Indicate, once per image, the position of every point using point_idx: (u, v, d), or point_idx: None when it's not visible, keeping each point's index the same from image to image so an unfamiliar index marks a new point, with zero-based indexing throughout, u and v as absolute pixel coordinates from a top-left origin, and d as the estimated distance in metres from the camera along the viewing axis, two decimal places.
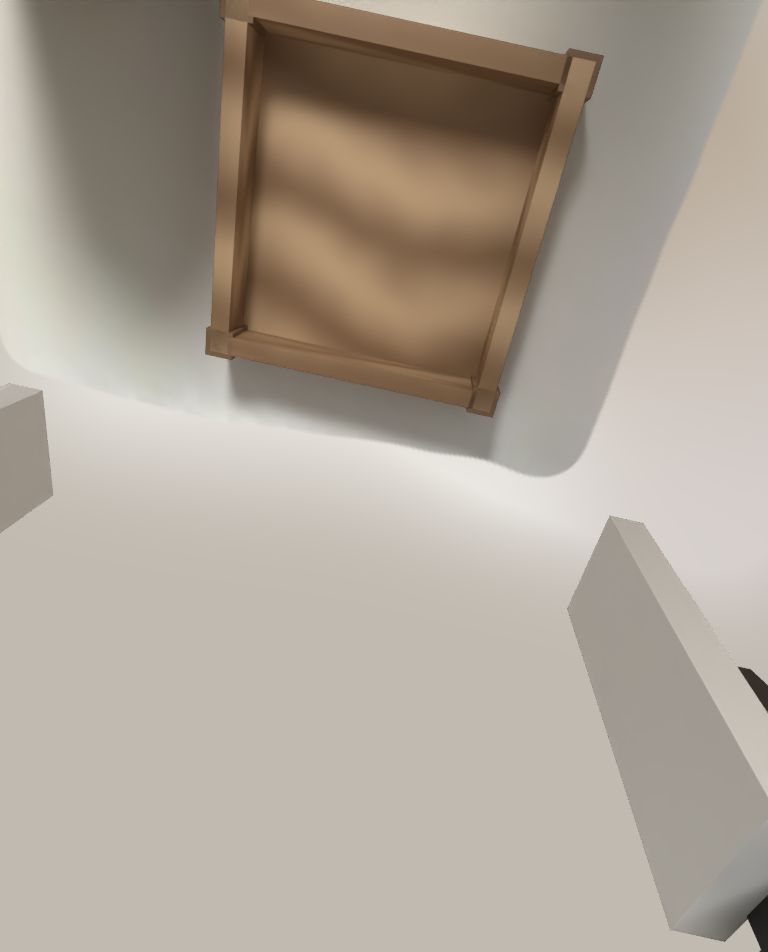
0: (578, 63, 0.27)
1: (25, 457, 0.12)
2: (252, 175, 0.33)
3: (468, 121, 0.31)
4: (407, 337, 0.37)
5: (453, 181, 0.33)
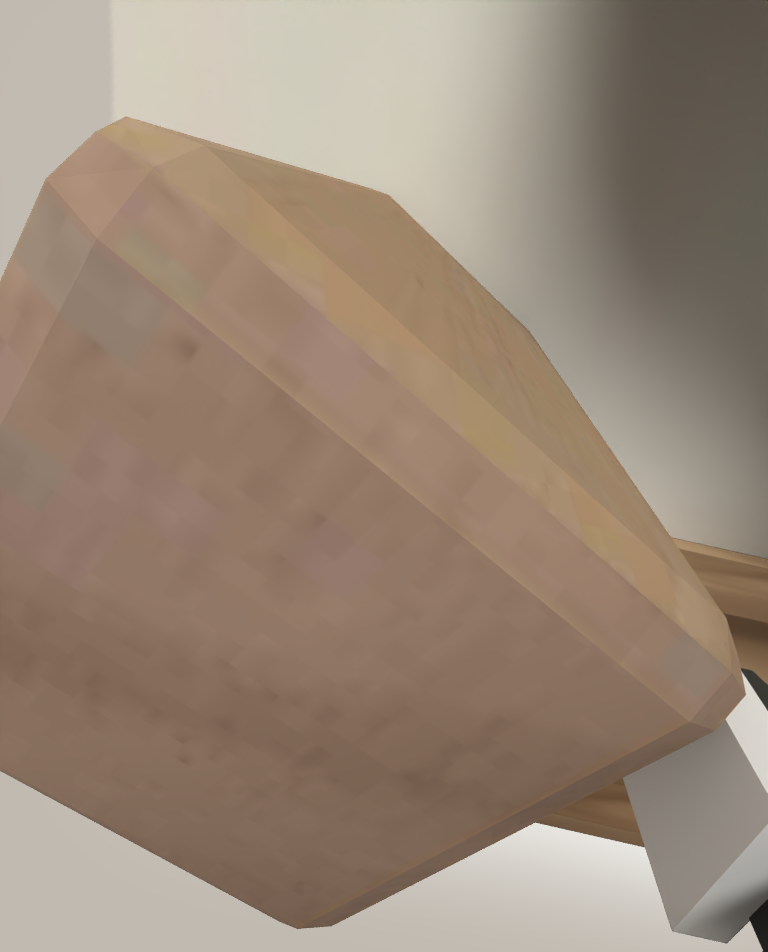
0: None
1: None
2: None
3: (754, 620, 0.28)
4: None
5: None
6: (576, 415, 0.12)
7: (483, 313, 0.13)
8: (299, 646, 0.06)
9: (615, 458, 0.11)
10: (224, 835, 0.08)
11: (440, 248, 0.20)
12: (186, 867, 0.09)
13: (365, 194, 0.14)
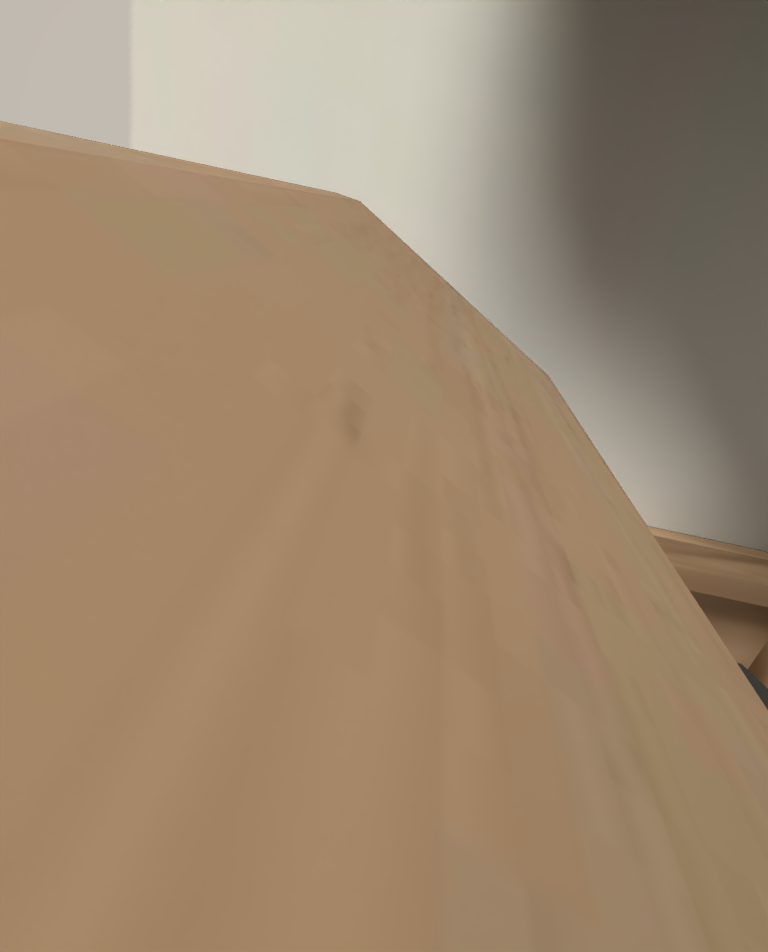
0: None
1: None
2: None
3: (710, 598, 0.31)
4: None
5: None
6: (678, 610, 0.06)
7: (496, 397, 0.08)
8: None
9: None
10: None
11: (429, 272, 0.15)
12: None
13: (297, 200, 0.08)
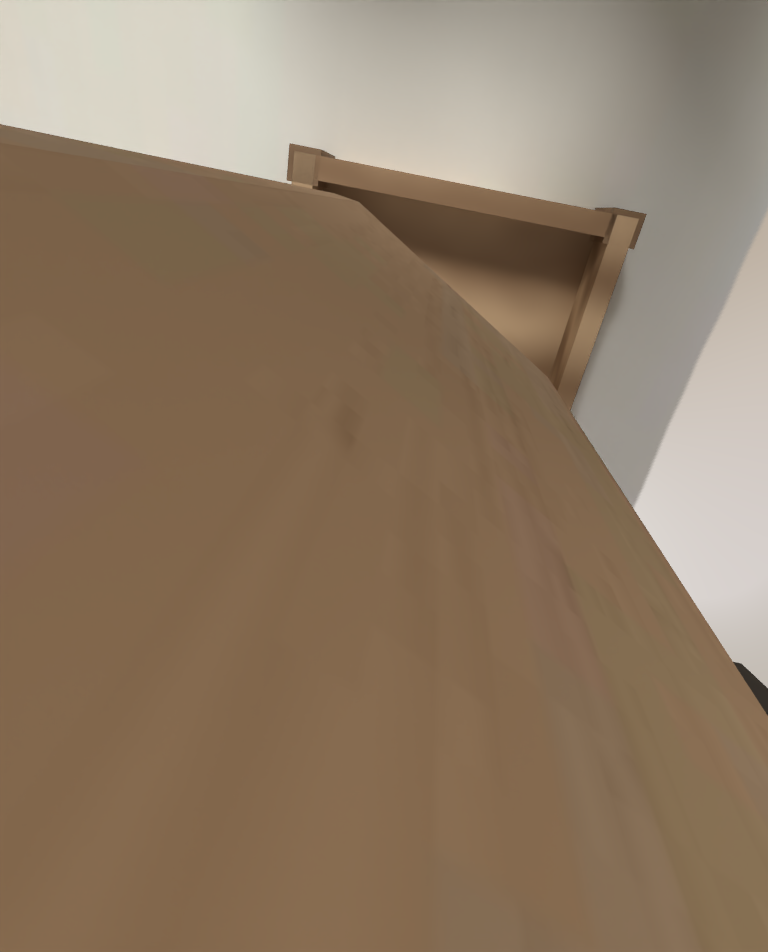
0: (622, 220, 0.29)
1: None
2: None
3: (514, 256, 0.33)
4: None
5: (499, 307, 0.35)
6: (677, 614, 0.06)
7: (494, 400, 0.08)
8: None
9: None
10: None
11: (428, 273, 0.15)
12: None
13: (295, 201, 0.08)
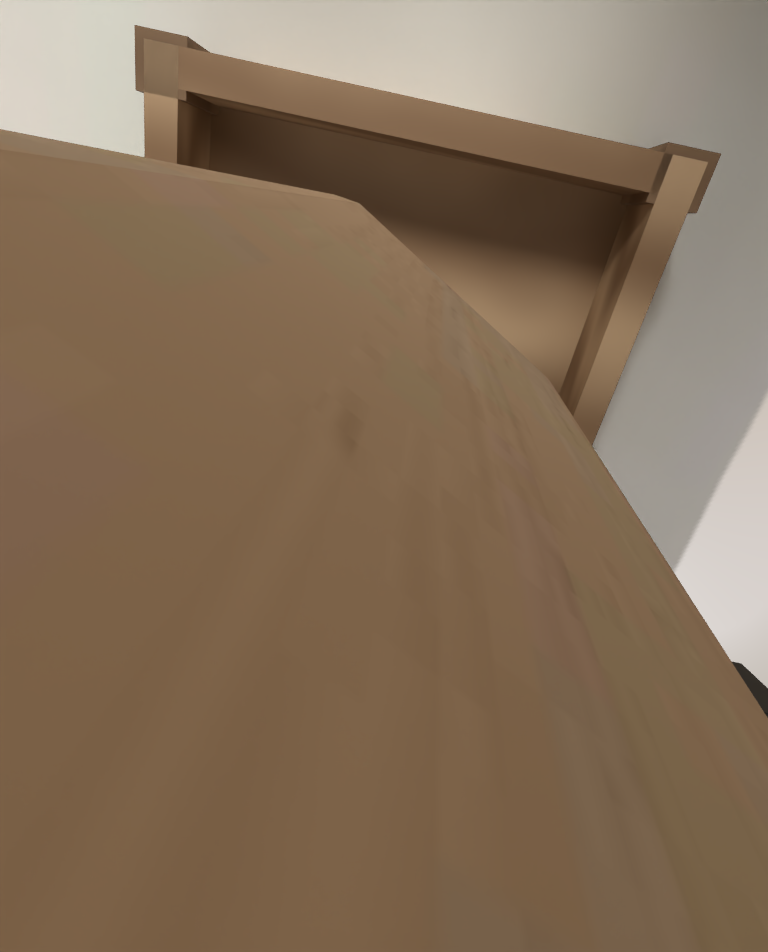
0: (681, 165, 0.18)
1: None
2: None
3: (504, 227, 0.22)
4: None
5: (481, 306, 0.23)
6: (678, 617, 0.06)
7: (495, 402, 0.08)
8: None
9: None
10: None
11: (428, 274, 0.15)
12: None
13: (296, 204, 0.08)
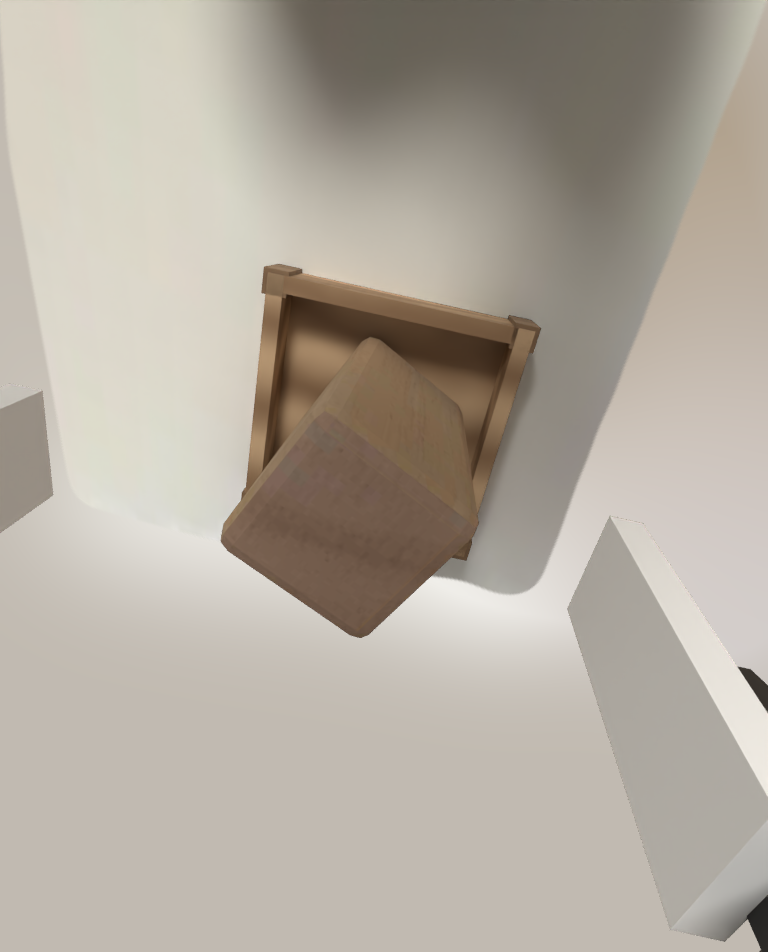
0: (523, 332, 0.38)
1: (25, 457, 0.12)
2: (280, 381, 0.43)
3: (444, 350, 0.41)
4: None
5: None
6: (453, 455, 0.31)
7: (420, 414, 0.33)
8: (361, 519, 0.25)
9: (465, 470, 0.30)
10: (336, 590, 0.27)
11: (407, 368, 0.40)
12: (322, 606, 0.28)
13: (370, 365, 0.33)
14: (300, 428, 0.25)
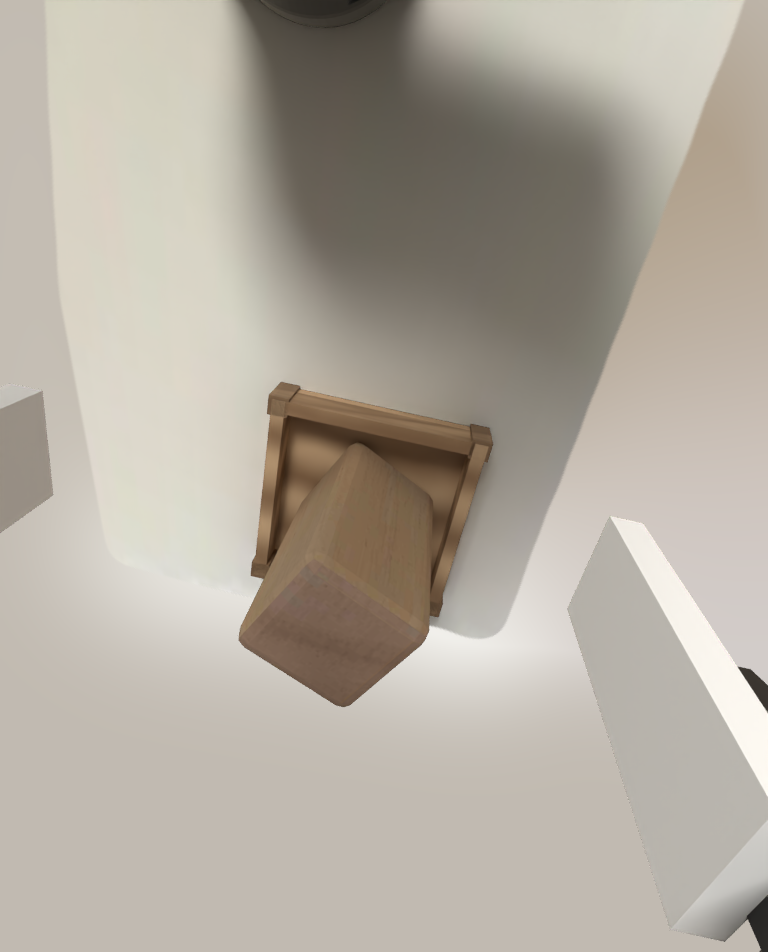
0: (478, 447, 0.46)
1: (25, 457, 0.12)
2: (283, 473, 0.52)
3: (418, 451, 0.50)
4: None
5: None
6: (415, 564, 0.40)
7: (391, 526, 0.42)
8: (342, 630, 0.35)
9: (424, 578, 0.39)
10: (324, 675, 0.37)
11: (385, 471, 0.48)
12: (314, 686, 0.37)
13: (353, 487, 0.42)
14: (296, 567, 0.34)
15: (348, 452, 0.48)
